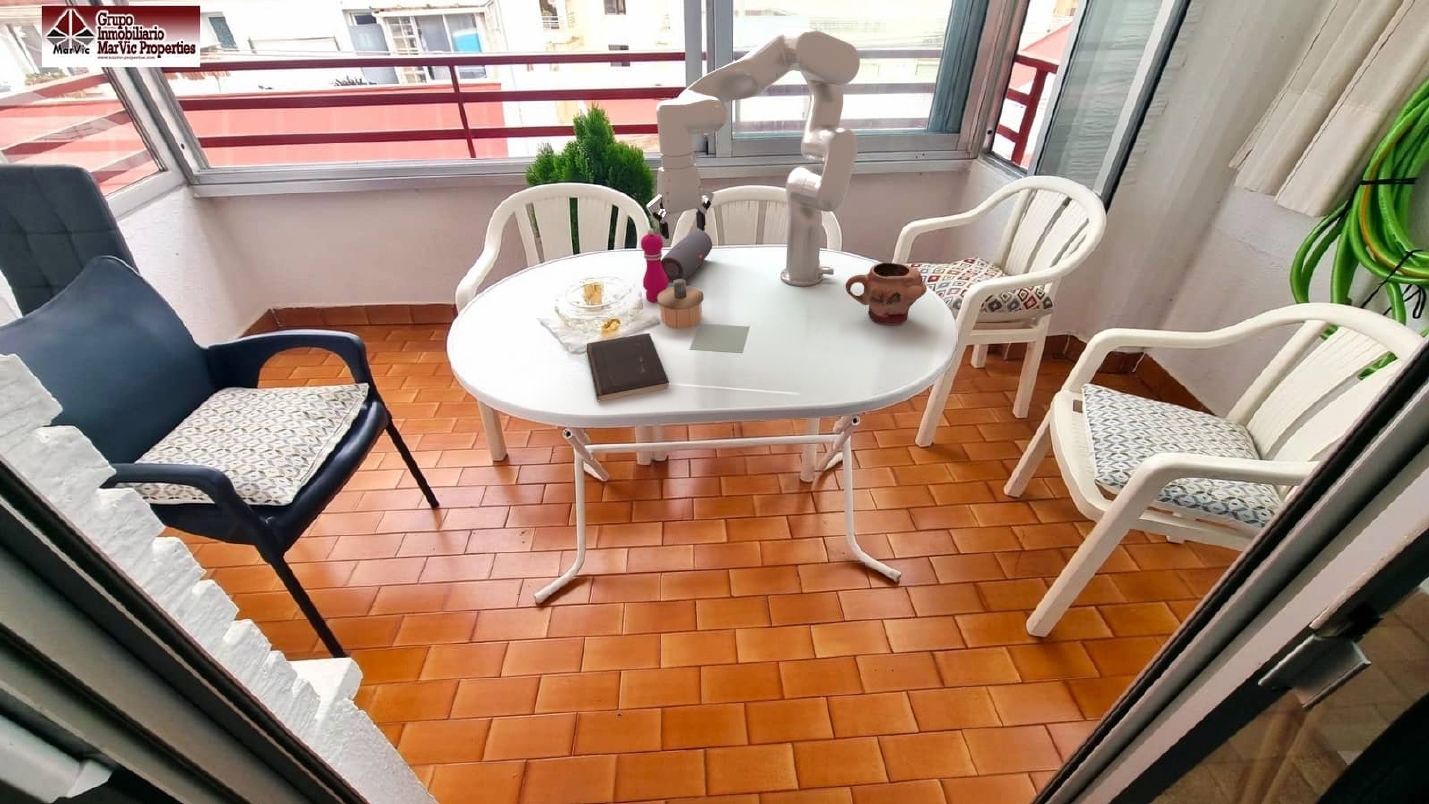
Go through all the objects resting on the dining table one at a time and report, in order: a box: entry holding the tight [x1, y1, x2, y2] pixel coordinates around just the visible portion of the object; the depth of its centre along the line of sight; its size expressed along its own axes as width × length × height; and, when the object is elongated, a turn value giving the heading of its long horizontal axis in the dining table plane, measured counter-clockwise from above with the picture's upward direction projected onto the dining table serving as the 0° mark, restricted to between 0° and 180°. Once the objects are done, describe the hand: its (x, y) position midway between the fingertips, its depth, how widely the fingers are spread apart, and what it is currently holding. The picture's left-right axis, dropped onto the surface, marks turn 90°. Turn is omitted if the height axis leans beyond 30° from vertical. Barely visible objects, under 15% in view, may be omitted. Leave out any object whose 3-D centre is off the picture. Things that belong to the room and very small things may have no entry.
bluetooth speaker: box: [661, 229, 713, 284], centre depth 175 cm, size 23×9×10 cm, turn 159°
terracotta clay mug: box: [844, 262, 928, 326], centre depth 147 cm, size 20×12×14 cm, turn 89°
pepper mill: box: [640, 228, 670, 303], centre depth 159 cm, size 7×7×20 cm
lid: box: [657, 279, 705, 309], centre depth 149 cm, size 12×12×5 cm
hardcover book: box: [586, 332, 670, 401], centre depth 135 cm, size 16×23×2 cm
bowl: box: [659, 302, 703, 329], centre depth 152 cm, size 10×11×6 cm
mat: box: [689, 323, 750, 354], centre depth 145 cm, size 13×13×1 cm
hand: (683, 233), depth 142 cm, fingers open, 9 cm apart
